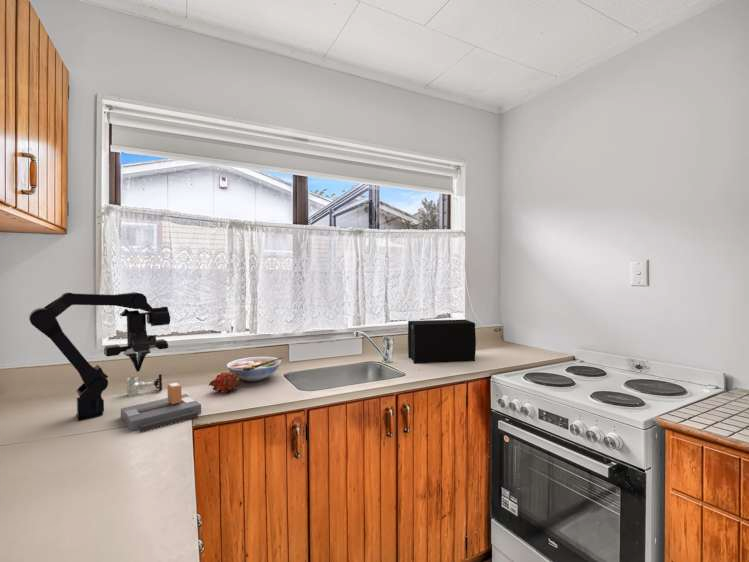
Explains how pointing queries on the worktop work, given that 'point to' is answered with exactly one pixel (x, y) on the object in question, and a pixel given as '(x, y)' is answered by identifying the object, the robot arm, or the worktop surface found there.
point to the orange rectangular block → (174, 393)
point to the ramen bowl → (254, 367)
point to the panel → (157, 411)
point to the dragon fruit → (226, 382)
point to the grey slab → (168, 421)
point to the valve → (140, 385)
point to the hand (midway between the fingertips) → (137, 371)
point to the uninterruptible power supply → (441, 341)
